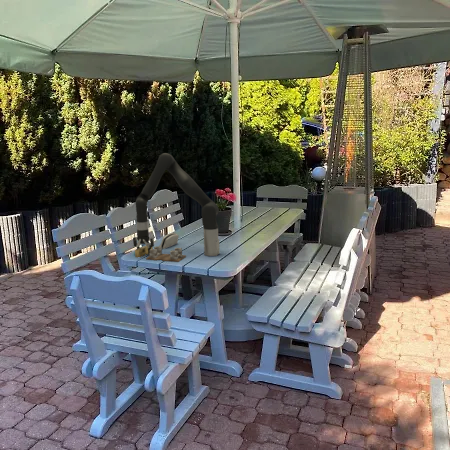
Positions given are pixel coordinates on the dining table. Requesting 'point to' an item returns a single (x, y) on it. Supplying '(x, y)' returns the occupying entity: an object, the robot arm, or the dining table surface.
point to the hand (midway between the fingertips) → (144, 253)
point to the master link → (141, 251)
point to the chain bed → (166, 255)
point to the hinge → (169, 240)
